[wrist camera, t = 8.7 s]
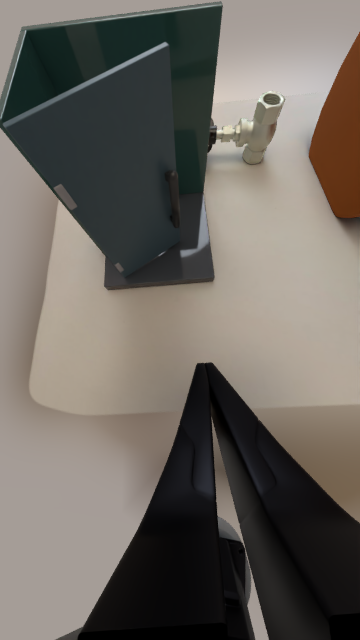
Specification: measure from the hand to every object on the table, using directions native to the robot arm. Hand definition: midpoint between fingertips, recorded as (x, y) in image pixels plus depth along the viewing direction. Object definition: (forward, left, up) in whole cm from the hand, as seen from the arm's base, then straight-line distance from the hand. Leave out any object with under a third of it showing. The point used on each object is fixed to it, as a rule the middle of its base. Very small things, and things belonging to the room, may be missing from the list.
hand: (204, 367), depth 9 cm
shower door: (+13, +7, -11) cm, 19 cm away
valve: (+37, -4, -13) cm, 39 cm away
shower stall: (+18, +7, -12) cm, 23 cm away
